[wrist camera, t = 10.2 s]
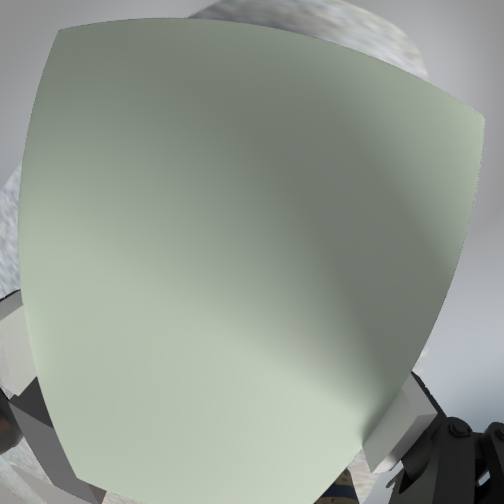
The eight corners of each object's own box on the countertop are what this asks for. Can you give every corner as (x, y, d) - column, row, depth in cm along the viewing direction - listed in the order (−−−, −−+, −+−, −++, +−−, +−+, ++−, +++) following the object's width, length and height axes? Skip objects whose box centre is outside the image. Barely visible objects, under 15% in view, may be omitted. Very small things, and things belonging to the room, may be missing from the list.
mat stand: (55, 446, 23) (35, 480, 16) (14, 314, 18) (-33, 349, 11) (150, 485, 23) (138, 526, 17) (145, 365, 18) (112, 430, 12)
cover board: (92, 447, 11) (77, 478, 9) (100, 56, 7) (58, 29, 4) (288, 488, 12) (291, 524, 9) (435, 126, 7) (484, 117, 5)
